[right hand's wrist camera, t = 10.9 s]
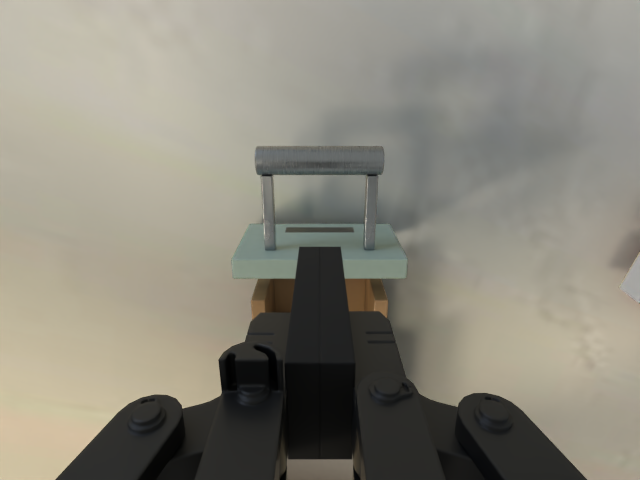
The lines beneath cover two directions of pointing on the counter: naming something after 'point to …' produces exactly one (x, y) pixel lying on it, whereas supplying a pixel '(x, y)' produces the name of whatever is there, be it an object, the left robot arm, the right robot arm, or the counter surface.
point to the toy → (632, 281)
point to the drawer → (319, 232)
